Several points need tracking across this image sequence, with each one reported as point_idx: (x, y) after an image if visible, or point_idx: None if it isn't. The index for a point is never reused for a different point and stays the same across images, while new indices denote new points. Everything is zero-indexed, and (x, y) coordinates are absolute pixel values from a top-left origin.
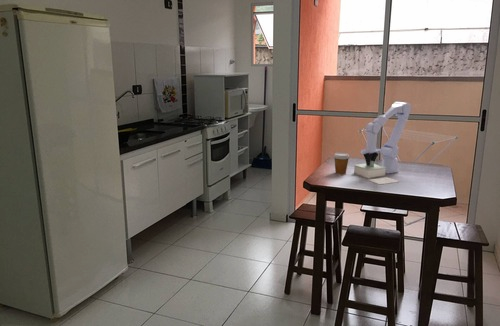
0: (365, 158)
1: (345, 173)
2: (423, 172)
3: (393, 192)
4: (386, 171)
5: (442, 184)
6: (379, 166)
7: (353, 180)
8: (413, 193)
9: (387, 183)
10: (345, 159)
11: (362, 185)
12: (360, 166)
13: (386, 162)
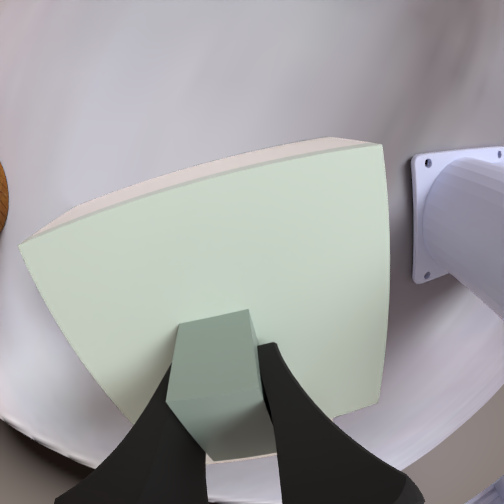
0: (125, 454)
1: (3, 224)
2: None
3: (214, 497)
4: (434, 259)
5: (450, 427)
6: (351, 373)
7: (60, 390)
8: (278, 499)
9: (249, 457)
10: None
11: (106, 449)
12: (84, 344)
13: (493, 306)
